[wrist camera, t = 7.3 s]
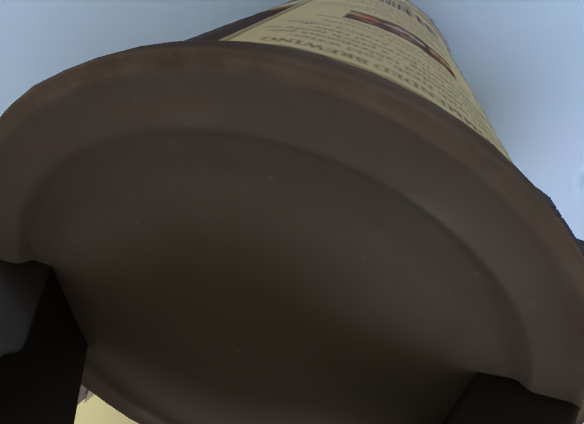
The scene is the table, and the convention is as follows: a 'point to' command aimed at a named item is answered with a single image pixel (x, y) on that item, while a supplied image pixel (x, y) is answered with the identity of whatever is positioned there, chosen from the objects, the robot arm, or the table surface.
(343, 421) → the coffee can
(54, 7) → the table surface
